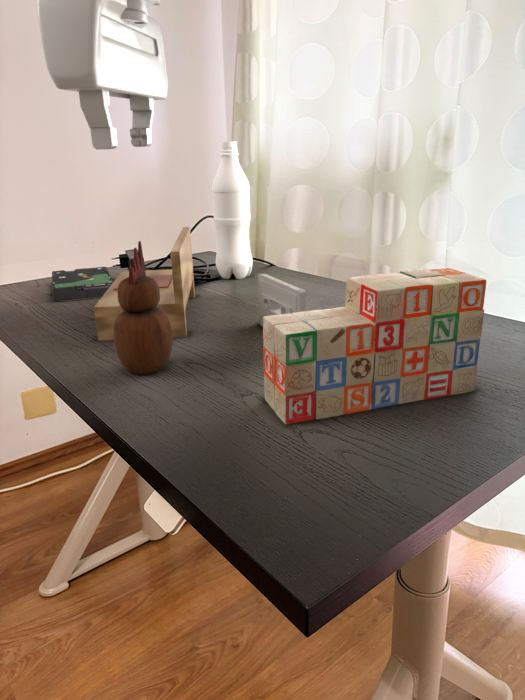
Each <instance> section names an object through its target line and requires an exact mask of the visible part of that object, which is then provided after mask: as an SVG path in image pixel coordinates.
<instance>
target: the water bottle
mask: <svg viewBox="0 0 525 700" xmlns="http://www.w3.org/2000/svg"><path fill="white" fill-rule="evenodd" d="M219 146H220V150H219V151H220V153H219V154H218V155H219V156H220V162H219V166H218V168H217V171H216V172H215V175H214V177H213V180H212V183H211V195H212V196H211V197H212V211H213V212H212V213H213V218H212V219H213V222H214V226H215V232H216V234H215V235H216V254H215V267H216V270H217V273H218V274H219V276H220V277H221V279H224V280H229V279H230V278H231V277H232V275H234V277H235V279H236V280H241V279H245V278H246V277H249V276H250V275H251V273H252V270H253V255H252V252H251V251H252V250H251V245H250V223H251V218H252V217H251V197H250V193H251V192H250V190H251V186H250V181H249V180H248V177H247V176H246V173H245V171H244V170H243V168H242V166H241V164H240V160H239V155H240V153H239V152H238V151H239V150H238V141H236V140H232V141H230V140H227V141H220V145H219Z"/></svg>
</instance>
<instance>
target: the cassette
mask: <svg viewBox="0 0 525 700" xmlns="http://www.w3.org/2000/svg"><path fill="white" fill-rule="evenodd" d="M257 287H258V289H257V291H258V323H259V325H260V326H261V327H263V317H264V316H271V315H280V314H288V313H290V314H291V313H296V312H304V311H307V309H306V307H307V305H306V302H307V301H306V300H307V299H306V295H307V294H306V290H305V289H302V288H300V287H298V286H296V285H293V284H291V283H289V282H287V281H284V280H282V279H279V278H276V277H274V276H271V275H269V274H267V273H258V274H257Z"/></svg>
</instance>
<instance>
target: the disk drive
mask: <svg viewBox="0 0 525 700" xmlns="http://www.w3.org/2000/svg"><path fill="white" fill-rule="evenodd" d="M113 282H114V281H113V279H112V277H111V275H110V272H109V270H108V267H107V266H98V267H97V266H96V267H86V268H84V267H83V268H76V269H73V270H68V271H66V270H64V269H63V270H53V271H51V289H52V296H53V297H52V298H53V302H67V301H68V302H69V301H78V300H85V299H86V300H87V299H97V298H101V297H102V296H103V295H104V294H105V292H106V291H107V290H108V289H109V287H110V286H111V285H112V283H113Z"/></svg>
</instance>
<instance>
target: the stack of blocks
mask: <svg viewBox="0 0 525 700" xmlns="http://www.w3.org/2000/svg"><path fill="white" fill-rule="evenodd" d="M345 281H346V282H345V283H346V284H345V302H344V303H345V304H344V306H340V307H332V308H325V309H324V308H323V309H313V310H306V311H304V312H296V313H291V314H290V313H288V314H280V315H271V316H264V317H263V326H262V340H263V341H262V343H263V344H262V345H263V346H262V361H263V362H262V363H263V387H264V400H265V401H266V403H267V404H268V406H269V407H270V408H271V409H272V410H273V411H274V413H275V414H276V416H277V417H278V418H279V419H280V421H282V423H283V424H284V425H293V424H298V423H302V422H307V421H313V420H321V419H326V418H333V417H337V416H342V415H349V414H354V413H360V412H364V411H370V410H375V409H381V408H385V407H386V408H387V407H390V406H397V405H402V404H407V403H412V402H418V401H423V400H431V399H437V398H443V397H446V396H454V395H459V394H466V393H470V392H475V390H476V381H477V372H478V361H479V352H480V345H481V338H482V334H483V333H482V332H483V327H484V325H483V324H484V317H485V309H484V307H485V306H484V304H485V297H486V288H487V279H486V278H483V277H480V276H477V275H474V274H471V273H467V272H464V271H462V270H458V269H455V268H451V267H442V268H435V269H434V268H433V269H425V268H417V269H408V270H400V271H399V272H396V271H395V272H394V271H393V272H385V273H376V274H373V275H372V274H370V275H369V274H368V275H358V276H348V277H346V279H345Z"/></svg>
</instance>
